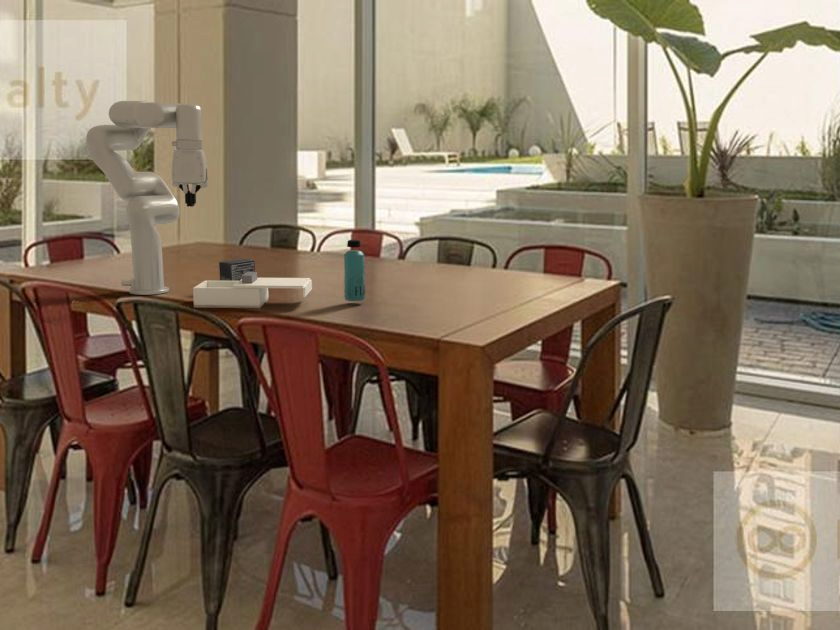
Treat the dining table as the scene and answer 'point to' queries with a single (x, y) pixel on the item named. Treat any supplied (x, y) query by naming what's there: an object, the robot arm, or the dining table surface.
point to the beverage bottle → (354, 273)
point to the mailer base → (228, 295)
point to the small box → (235, 269)
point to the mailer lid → (273, 282)
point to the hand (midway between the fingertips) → (190, 206)
